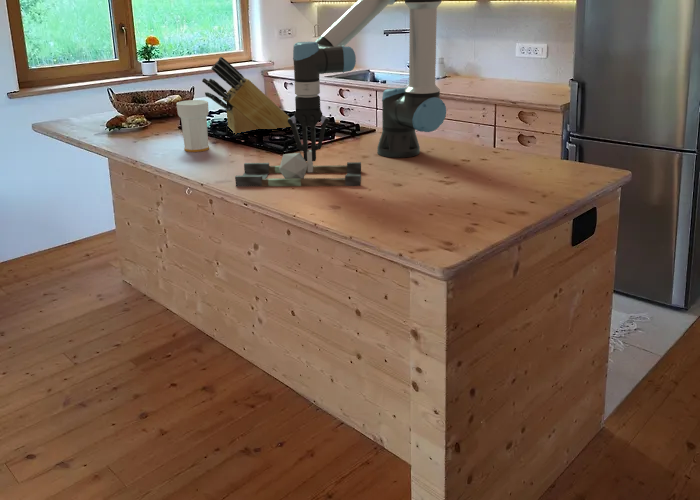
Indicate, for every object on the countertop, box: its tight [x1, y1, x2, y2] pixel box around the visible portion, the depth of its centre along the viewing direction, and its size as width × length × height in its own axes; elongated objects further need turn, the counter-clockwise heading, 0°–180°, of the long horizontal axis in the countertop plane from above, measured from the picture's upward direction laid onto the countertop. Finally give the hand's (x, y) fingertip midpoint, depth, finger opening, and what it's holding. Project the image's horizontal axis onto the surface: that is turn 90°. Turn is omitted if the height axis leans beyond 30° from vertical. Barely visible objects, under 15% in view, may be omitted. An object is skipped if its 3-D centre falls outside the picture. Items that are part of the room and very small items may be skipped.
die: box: [279, 152, 308, 178], centre depth 217 cm, size 8×9×10 cm
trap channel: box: [234, 161, 362, 187], centre depth 219 cm, size 38×17×3 cm, turn 88°
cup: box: [176, 99, 210, 153], centre depth 256 cm, size 11×11×17 cm
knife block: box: [201, 56, 291, 135], centre depth 283 cm, size 11×35×31 cm, turn 114°
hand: (310, 171), depth 218 cm, fingers closed
